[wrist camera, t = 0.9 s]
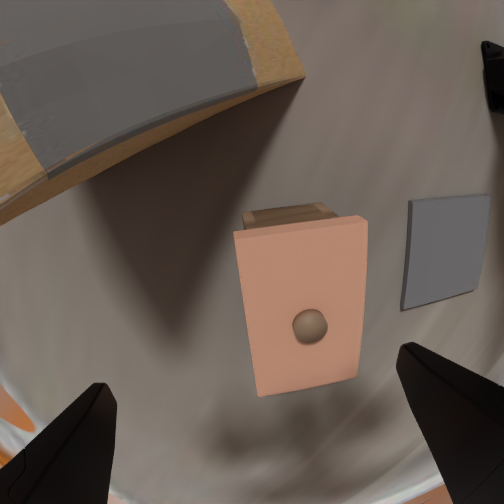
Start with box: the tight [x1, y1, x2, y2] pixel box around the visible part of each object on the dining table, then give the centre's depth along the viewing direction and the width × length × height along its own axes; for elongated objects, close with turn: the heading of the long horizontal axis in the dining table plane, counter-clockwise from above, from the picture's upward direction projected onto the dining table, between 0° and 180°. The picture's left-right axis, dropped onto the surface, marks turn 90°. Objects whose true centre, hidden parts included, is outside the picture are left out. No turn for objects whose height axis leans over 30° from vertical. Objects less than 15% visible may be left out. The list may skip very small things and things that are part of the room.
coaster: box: [400, 194, 491, 310], centre depth 22 cm, size 9×9×1 cm
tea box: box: [242, 203, 339, 230], centre depth 20 cm, size 10×5×4 cm, turn 7°
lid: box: [233, 215, 368, 397], centre depth 17 cm, size 11×7×3 cm, turn 7°
